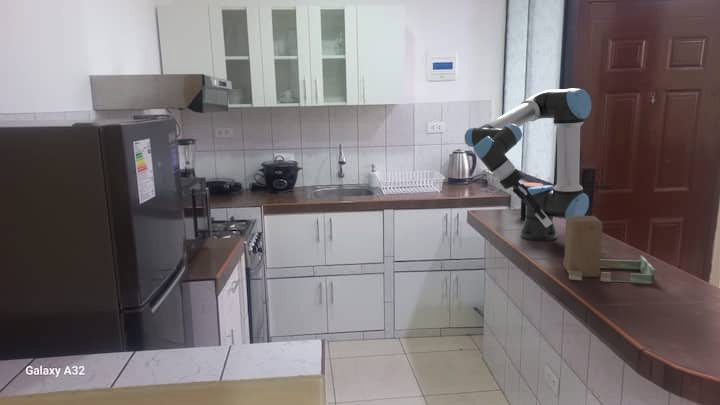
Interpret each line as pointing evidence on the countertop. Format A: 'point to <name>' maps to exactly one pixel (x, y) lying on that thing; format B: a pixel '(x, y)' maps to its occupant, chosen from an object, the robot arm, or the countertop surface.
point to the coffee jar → (523, 206)
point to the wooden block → (583, 245)
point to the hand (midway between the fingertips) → (549, 225)
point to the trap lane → (622, 264)
